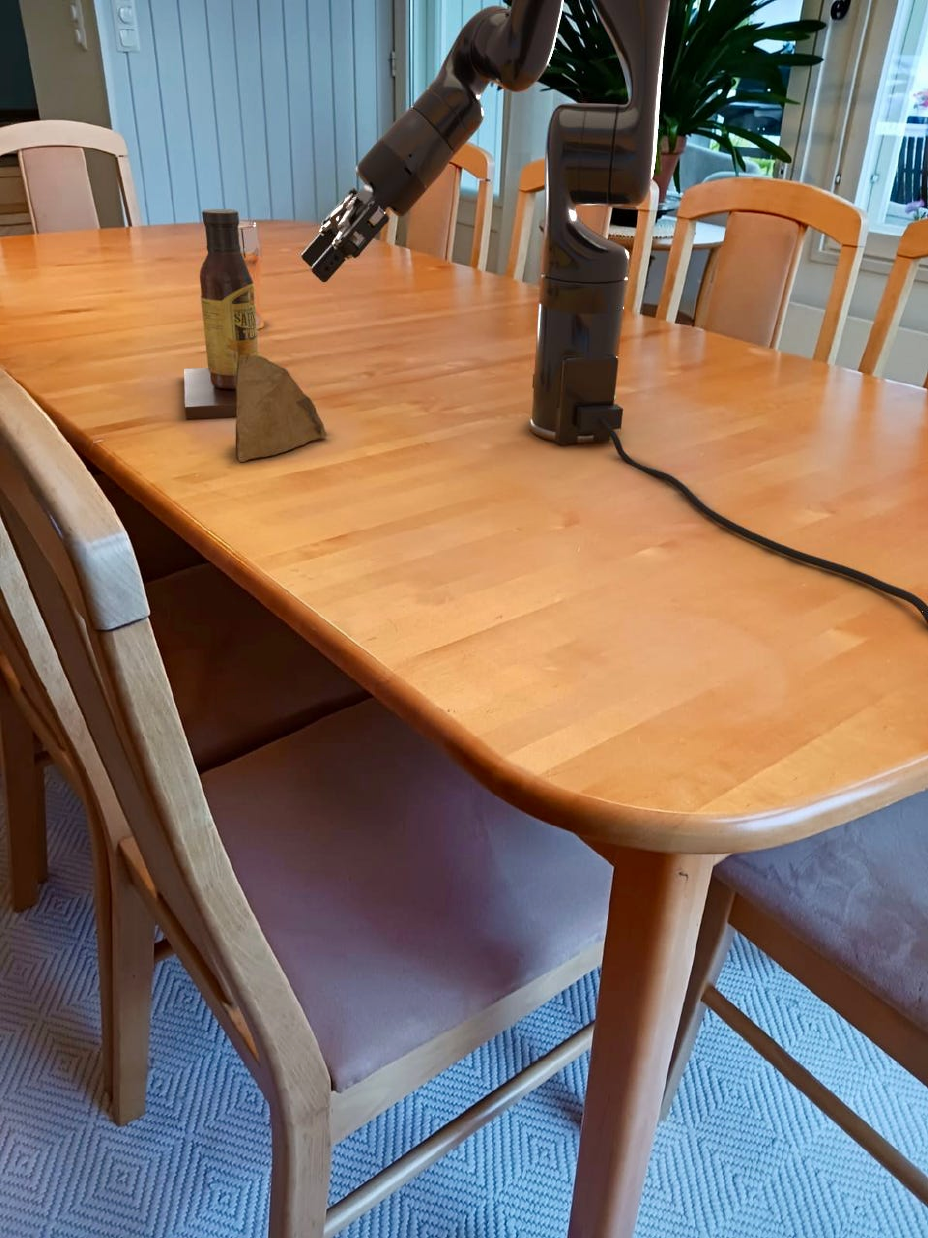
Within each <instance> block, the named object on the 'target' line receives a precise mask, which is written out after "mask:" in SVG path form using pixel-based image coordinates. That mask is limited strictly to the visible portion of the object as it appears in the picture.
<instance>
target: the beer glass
mask: <svg viewBox="0 0 928 1238" xmlns="http://www.w3.org/2000/svg"><path fill="white" fill-rule="evenodd" d="M238 233H239V244H240V247H241V249H240V250H241V253H242V256H243V258H244V261H245V263H246V266H247V268H248V271H249V273H250V276H251V278H252V281H253V283H254V295H255V309H256V321H257V330H260V329H262V328H263V327H265V323H264V317H263V315H262V311H261V303H260V290H261V277H262V251H261V243H260V235H259V230H258V223H257V222H255V221H251V220H239V225H238Z"/></svg>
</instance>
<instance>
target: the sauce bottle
mask: <svg viewBox="0 0 928 1238" xmlns="http://www.w3.org/2000/svg"><path fill="white" fill-rule="evenodd" d="M201 216H202V223H203V226H204V230H205V238H206V240H205V241H206V245H205V248H206V251H207V254H206V256H205V259H204V260H203V262H202V265H201V267H200V271H199V282H200V283H199V284H200V292H201V293H200V294H201V295H200V302H201V303H200V304H201V313H202V314H201V315H202V322H203V332H204V343H205V344H204V345H205V351H206V361H207V362H206V364H207V368H208V370H209V372H210V379H211V383H212V384H213V385H214V386H215V387H218V388H223V389H236V373H237V366H238V356H239V355H245V356H248V355H258V356H260V350H259V349H260V348H259V347H260V346H259V336H258V335H259V334H258V329H257V321H256V309H255V295H254V283H253V281H252V278H251V276H250V273H249V271H248V268H247V266H246V263H245V261H244V258H243V256H242V253H241V250H240V249H241V247H240V244H239V233H238V225H239V221H240V217H239V211H238V210H236V209H231V208H211V209H210V208H209V209H204V210H203V209H202V211H201Z"/></svg>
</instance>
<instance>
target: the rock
mask: <svg viewBox="0 0 928 1238" xmlns="http://www.w3.org/2000/svg"><path fill="white" fill-rule="evenodd" d="M236 393H237V397H236V403H237V409H236V416H237V417H235V420H236V421H235V456H236V459H238V462H240V463H245V462H247V461H248V460H251V459H258V458H266V457H271V456H276V455H279V454H282V453H285V452H287V451H290V450H293V449H294V448H297V447H301V446H303V445H305V444H307V443H309V442H313V441H316V440H318V439H322V438H323V437H326V436H327V432H326V430H325V425H324V423H323V421H322V419H321V417H320V414H319V413H318V411H317V408H316V406H315V404H314V401H313V400H312V399H311V398H310V397H309V396H308V395H307V394H305V392H304V391H303V390H302V389H301V388H300V386H299V385H298V383H297V382H296V381H295V380H294V378H292V376H291V373H290V372H289V370H288V369H286V368H285V367H283V366H280V365H279V364H277V363H275V362H273V361H270V360H269V359H267V358H266V357H264V356H261V355H259V356H258V355H248V356H245V355H239V356H238V366H237V373H236Z"/></svg>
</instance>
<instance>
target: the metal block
mask: <svg viewBox="0 0 928 1238" xmlns="http://www.w3.org/2000/svg"><path fill="white" fill-rule="evenodd" d="M183 369H184V371H183V372H184V373H183V375H184V377H183V378H184V412H185V413H184V414H185V419H186V420H200V419H201V420H203V419H217V418H219V419H220V418H221V419H222V418H237V416H236V409H237V403H236V397H237V393H236V389H223V388H218V387H215V386H214V385H213V384H212V383H211V379H210V372H209V370H208V367H197V368H196V367H195V368H194V367H193V368H183Z"/></svg>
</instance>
